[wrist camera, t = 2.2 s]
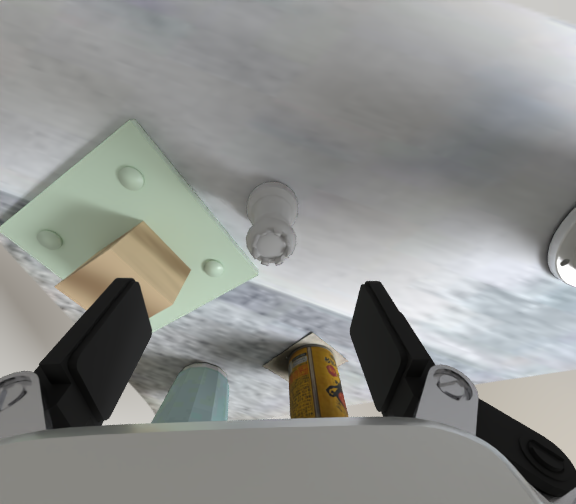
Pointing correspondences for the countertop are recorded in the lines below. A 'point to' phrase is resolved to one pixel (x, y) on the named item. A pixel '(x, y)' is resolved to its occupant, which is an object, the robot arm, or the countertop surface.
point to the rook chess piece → (271, 222)
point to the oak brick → (130, 270)
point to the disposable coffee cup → (196, 396)
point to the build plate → (130, 219)
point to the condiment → (311, 378)
